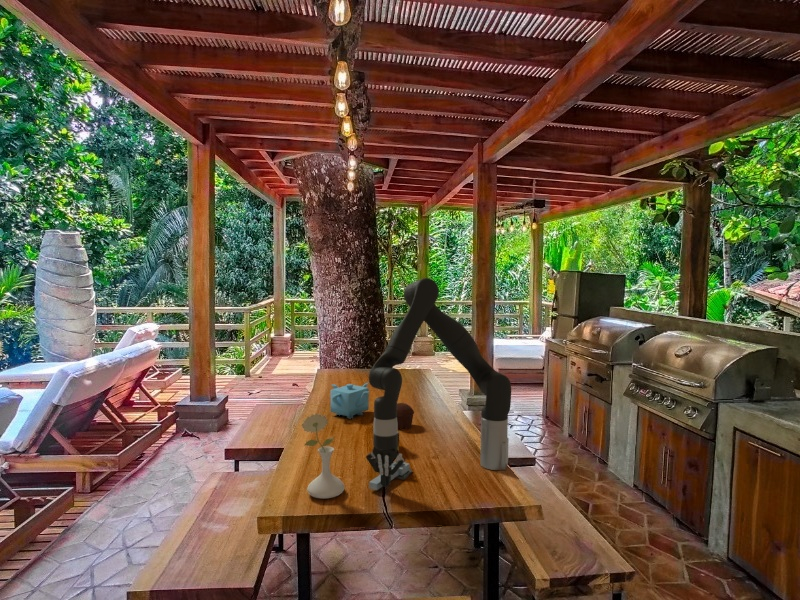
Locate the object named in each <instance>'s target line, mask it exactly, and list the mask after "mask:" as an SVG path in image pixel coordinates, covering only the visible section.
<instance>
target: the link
mask: <svg viewBox="0 0 800 600" xmlns="http://www.w3.org/2000/svg"><path fill="white" fill-rule="evenodd" d="M395 466H396V460H395V461H394V462H393V465H392V469H393V468H394V467H395ZM410 469H411V466H410V463H408V462H406V461H405V462H404V463H403V464H402V467H400V468H399V469H398V470H397V471H396V472H395V473H394V474H393V475H391V481H392V480H394V479H396V478H395V477H396V476H398V475H401V476H402V475H403V474H405V473H406V472H408V471H409V470H410ZM368 488H369V489H370V490H373V491H379V489H381V488H383V487H382V485H381V475H380V474H379V475H377V476H376V477H375V478H373V479H372V480H370V481H369V482H368Z"/></svg>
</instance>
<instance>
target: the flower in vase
mask: <svg viewBox="0 0 800 600" xmlns="http://www.w3.org/2000/svg"><path fill="white" fill-rule="evenodd" d="M328 424H329V423H328V418H327V415H325V414H324V415H322V413H315V414H310V415H309V416H306V418H305V419H304V420H303V423H301V427H302V429H303V431H304V432H306V433H315V434H316V440H315V439H310V440H308V441H306V442H305V443H304V446H309V447H313V446H316V445H317V444H319V445H320V447H319V448H318V449H317V452H318V453H319V454H320V458H321V473H320V474H319V475H318V476H317V477H316V478H314V479H313V480H312V481H311V482H310V483H309V484H308V486H307V489H306V492H307V493H308V494H309V495H310V497H313V498H315V499H332V498H335V497H338V496H339V495H341V494H342V493H343V492H344V490H345V484H344V482H343V481H342V480H341V479H340V478H339V477H338V476H336V475H334V474H333V473H332V472H331V469H330V468H331V467H330V464H331V463H330V462H331V458H332V454H333V453H334V451H335V448H334V447H332V446H329V445H330V444H331V443H332V442H333V441H334V439H335V436H332V437H330V438H326V439H325V440H324V442H323V443H321V442H320V440H319V437H318V432H321V430H325V427H326V426H327V425H328Z"/></svg>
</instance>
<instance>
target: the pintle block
mask: <svg viewBox="0 0 800 600" xmlns="http://www.w3.org/2000/svg"><path fill="white" fill-rule="evenodd" d="M399 455H400V456H401V457H402V458H403V454H402V453H400V452H399ZM396 460H397V459H395V461H396ZM396 464H397V463H396ZM401 467H402V465H401ZM412 473H413V469H411V468H410V470H409V471H408V472H406V473H405V474H403V475H402V476H401V475H398V476H396V477H395V478H394V479H397V480H403V481H405V480H406V479H407V478H408V477H409V476H410V475H412Z"/></svg>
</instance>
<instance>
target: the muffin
mask: <svg viewBox="0 0 800 600" xmlns="http://www.w3.org/2000/svg"><path fill="white" fill-rule="evenodd" d="M414 414H415V411H414V409H413V408H412V406H411V405H409V404H408V403H404V402H397V423H398V430H409V429H410V428H411V427H412V425H413V420H414Z"/></svg>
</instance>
